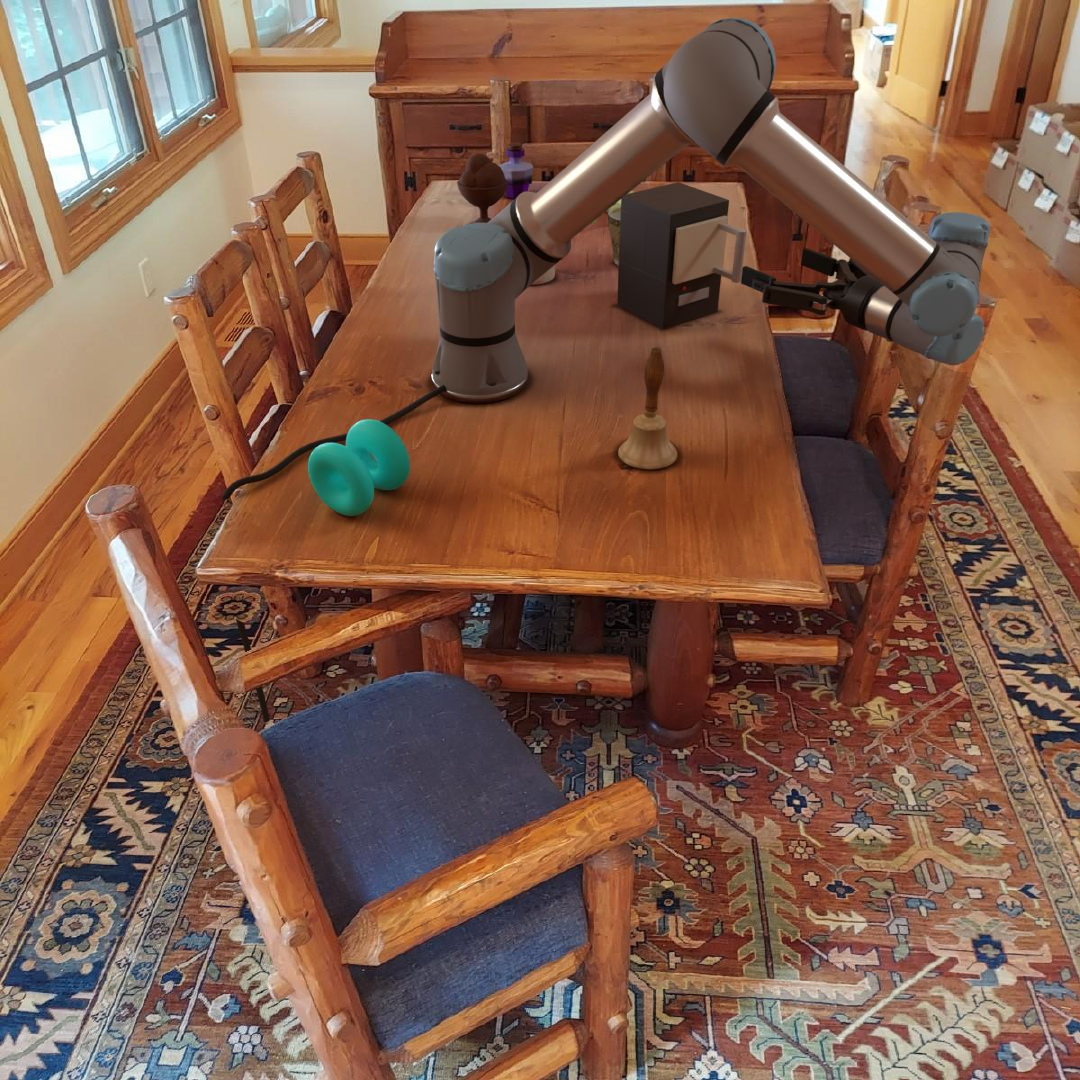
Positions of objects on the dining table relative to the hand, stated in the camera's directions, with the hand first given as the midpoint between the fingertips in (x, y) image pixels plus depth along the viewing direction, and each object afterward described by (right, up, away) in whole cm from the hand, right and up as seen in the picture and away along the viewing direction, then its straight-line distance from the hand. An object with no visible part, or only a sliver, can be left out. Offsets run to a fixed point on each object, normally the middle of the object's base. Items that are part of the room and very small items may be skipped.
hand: (773, 265), depth 155 cm
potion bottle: (-44, +38, +75) cm, 95 cm away
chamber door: (-9, 0, +8) cm, 12 cm away
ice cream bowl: (-50, +26, +58) cm, 81 cm away
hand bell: (-23, -33, -21) cm, 45 cm away
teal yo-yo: (-61, -39, -29) cm, 78 cm away
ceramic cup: (-19, +12, +40) cm, 46 cm away
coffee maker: (-15, -2, +20) cm, 25 cm away
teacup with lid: (-41, +7, +33) cm, 53 cm away
